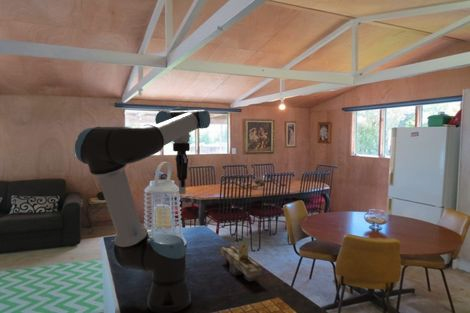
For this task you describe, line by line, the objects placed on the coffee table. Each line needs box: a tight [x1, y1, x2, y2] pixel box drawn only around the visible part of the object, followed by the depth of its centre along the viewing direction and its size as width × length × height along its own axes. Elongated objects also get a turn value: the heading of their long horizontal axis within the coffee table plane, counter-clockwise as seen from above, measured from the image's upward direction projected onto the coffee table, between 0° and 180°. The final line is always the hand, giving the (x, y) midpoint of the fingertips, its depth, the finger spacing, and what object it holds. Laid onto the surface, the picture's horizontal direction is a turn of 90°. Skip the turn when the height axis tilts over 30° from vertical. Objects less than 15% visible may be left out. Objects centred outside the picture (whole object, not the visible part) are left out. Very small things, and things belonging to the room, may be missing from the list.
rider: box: [237, 243, 249, 262], centre depth 136 cm, size 4×4×7 cm
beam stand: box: [219, 245, 262, 282], centre depth 140 cm, size 28×7×7 cm, turn 25°
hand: (182, 193), depth 149 cm, fingers closed
